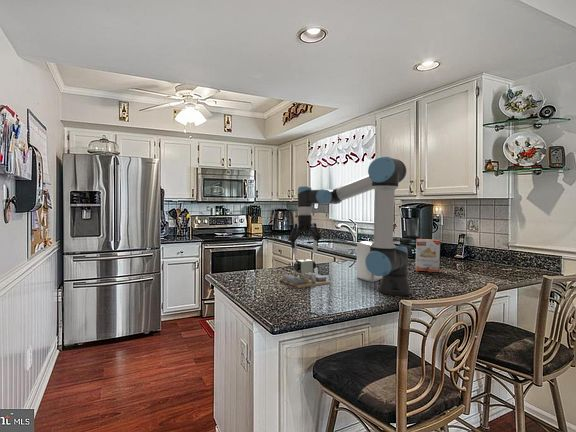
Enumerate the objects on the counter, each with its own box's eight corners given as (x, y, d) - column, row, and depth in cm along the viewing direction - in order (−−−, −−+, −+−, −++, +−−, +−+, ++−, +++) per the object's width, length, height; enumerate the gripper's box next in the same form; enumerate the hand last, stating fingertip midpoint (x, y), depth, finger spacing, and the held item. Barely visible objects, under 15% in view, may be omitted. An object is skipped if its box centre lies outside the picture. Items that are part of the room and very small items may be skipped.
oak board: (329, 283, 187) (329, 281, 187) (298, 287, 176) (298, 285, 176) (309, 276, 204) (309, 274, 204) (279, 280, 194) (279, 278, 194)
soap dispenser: (374, 282, 189) (374, 243, 188) (350, 279, 198) (351, 241, 197) (384, 278, 201) (385, 240, 201) (362, 275, 210) (362, 239, 209)
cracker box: (416, 271, 221) (416, 239, 220) (415, 270, 227) (416, 238, 226) (439, 273, 217) (440, 240, 216) (438, 271, 223) (439, 239, 222)
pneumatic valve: (315, 279, 190) (316, 258, 190) (297, 281, 185) (297, 259, 184) (310, 277, 195) (310, 256, 195) (292, 279, 190) (292, 258, 189)
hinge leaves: (329, 281, 186) (329, 272, 186) (299, 285, 176) (299, 276, 176) (308, 274, 204) (308, 266, 204) (280, 278, 194) (280, 269, 194)
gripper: (319, 214, 198) (319, 250, 199) (281, 215, 186) (282, 254, 186) (327, 214, 192) (327, 252, 192) (288, 215, 179) (289, 255, 180)
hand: (305, 253), depth 189 cm, fingers open, 13 cm apart
